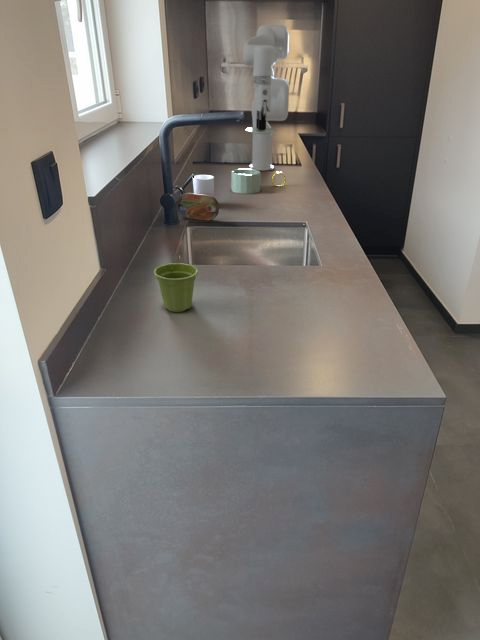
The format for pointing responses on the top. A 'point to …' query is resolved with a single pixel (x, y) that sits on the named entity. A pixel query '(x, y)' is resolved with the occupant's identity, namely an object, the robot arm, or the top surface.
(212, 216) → the tin
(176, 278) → the plant pot
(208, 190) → the white cup
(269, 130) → the lid
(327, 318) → the top surface
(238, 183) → the crock
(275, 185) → the gold ring
